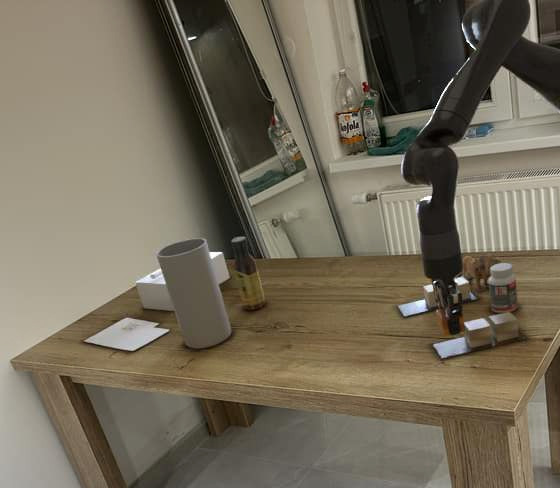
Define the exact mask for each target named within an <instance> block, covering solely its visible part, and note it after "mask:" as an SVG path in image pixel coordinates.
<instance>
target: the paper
mask: <svg viewBox="0 0 560 488" xmlns="http://www.w3.org/2000/svg"><path fill="white" fill-rule="evenodd" d="M158 325H160V322H159V323H158V322H153V321H148V320H143V319H138V318H137V319H136V318H132V317H125V318H123V319H121V320H119V321H116V323H114V324H112V325H109V326H108V327H107V328H105V329H102V330H101V331H100V332H97V333H96V334H93V335H92V336H90V337H88V338H86V339H85V340H83V342H85V343H90V344H95V345H100V346H104V347H107V348H108V347H109V348H113V349H119V350H124V351H131V352H133V351H136V350H137V349H139V348H141V347H143V346H145V345H147V344H149V343H150V342H151V343H152V341H154V340H156V339H157V338H159V337H162V336H163V335H165V334H166V333H168V332H169V331H170V329H167V328H162V327H157V326H158Z"/></svg>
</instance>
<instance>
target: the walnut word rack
mask: <svg viewBox="0 0 560 488" xmlns="http://www.w3.org/2000/svg"><path fill="white" fill-rule="evenodd" d="M464 324H465V331H463V337H459V338H454V339H449V340H446V341H441V342H438V343H433V344H432V347H433V349H434V350H435V351H436V353H437V354H438V356H439V358H440V359H441V360H445V359H446V360H447V359H450V358H454V357H458V356H462V355H467V354H471V353H476V352H480V351H484V350H488V349H492V348H497V347H501V346H506V345H509V344H514V343H518V342H522V341H527V338H526V336H525V335H523V333H521V331H520V330H519V321H518V318H517V317H516V316H514V314H512V313H511V312H506V313H498V314H494V315H489V316H488V321H487V320H486V319H485V317H481V318H478V319H473V320H469V321H464Z"/></svg>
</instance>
